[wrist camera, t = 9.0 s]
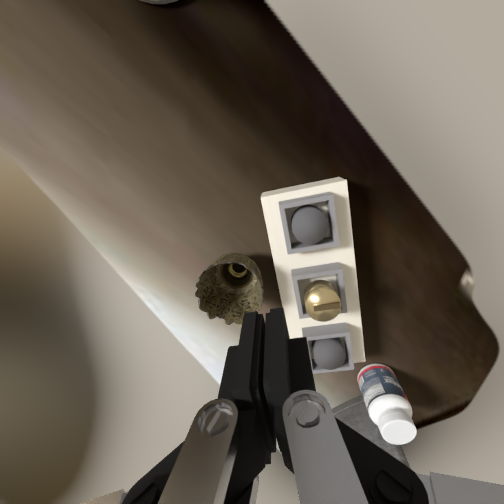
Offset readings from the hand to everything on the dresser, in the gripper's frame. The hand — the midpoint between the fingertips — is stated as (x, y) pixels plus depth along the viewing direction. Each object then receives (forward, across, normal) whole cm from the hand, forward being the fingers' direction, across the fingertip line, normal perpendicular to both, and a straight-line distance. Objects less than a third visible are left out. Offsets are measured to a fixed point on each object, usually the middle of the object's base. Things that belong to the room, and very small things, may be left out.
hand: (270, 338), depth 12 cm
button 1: (+19, -4, +17) cm, 26 cm away
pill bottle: (+23, -10, +27) cm, 37 cm away
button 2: (+20, -4, +1) cm, 20 cm away
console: (+24, -4, +9) cm, 26 cm away
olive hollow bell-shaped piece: (+24, +6, +7) cm, 26 cm away
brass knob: (+18, -4, +9) cm, 20 cm away
